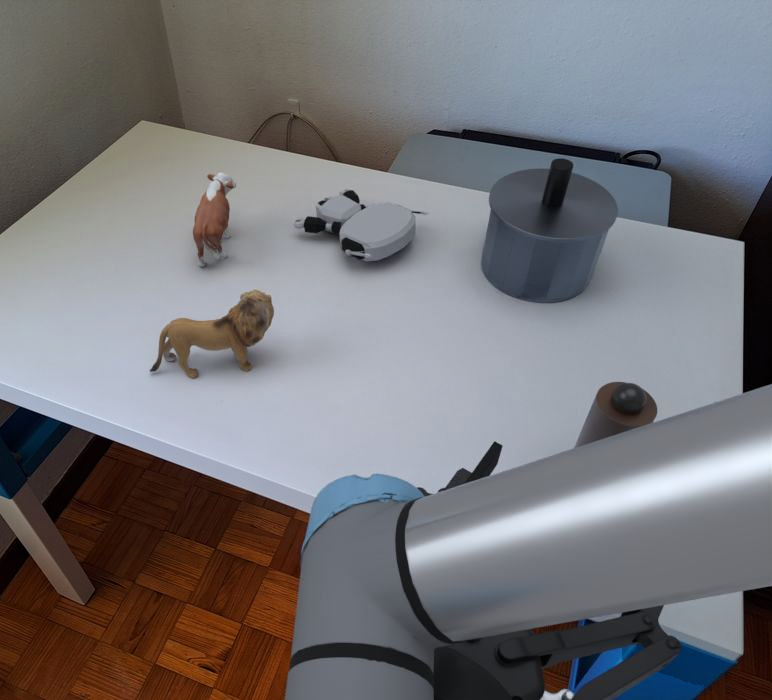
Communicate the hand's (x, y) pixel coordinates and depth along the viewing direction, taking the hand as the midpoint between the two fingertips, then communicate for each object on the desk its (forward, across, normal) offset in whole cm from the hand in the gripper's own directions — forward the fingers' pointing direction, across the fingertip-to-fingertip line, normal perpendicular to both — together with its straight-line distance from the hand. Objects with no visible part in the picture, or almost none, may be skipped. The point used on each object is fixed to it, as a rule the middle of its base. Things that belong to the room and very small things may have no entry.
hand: (574, 494), depth 54 cm
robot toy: (+28, -40, -10) cm, 50 cm away
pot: (+36, -18, -10) cm, 41 cm away
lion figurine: (0, -40, -10) cm, 41 cm away
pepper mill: (+9, 0, -10) cm, 13 cm away
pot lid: (+36, -18, 0) cm, 40 cm away
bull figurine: (+16, -55, -10) cm, 58 cm away
